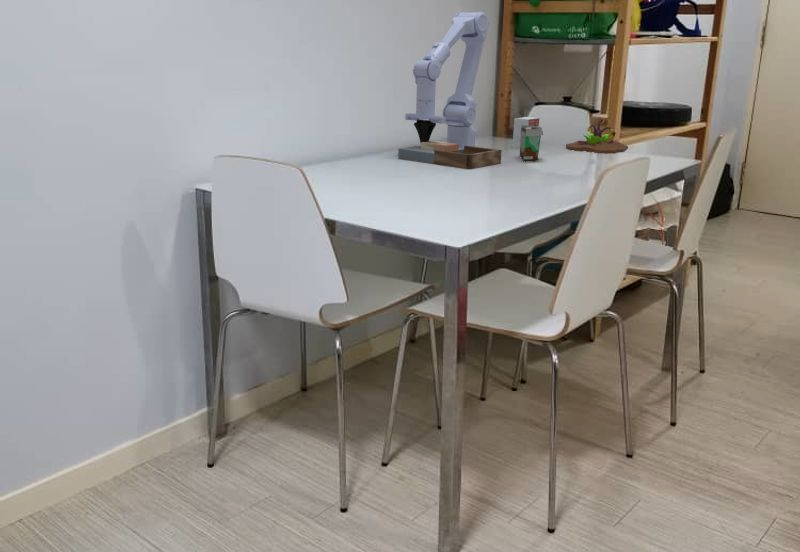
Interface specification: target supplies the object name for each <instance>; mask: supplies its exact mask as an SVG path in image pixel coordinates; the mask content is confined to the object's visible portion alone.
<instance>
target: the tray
mask: <svg viewBox="0 0 800 552" xmlns="http://www.w3.org/2000/svg"><path fill="white" fill-rule="evenodd" d="M501 163H502V149H496V148H489V147H481V146H480V147H479V146H475V147H473V146H464V154H463V153H456V152H449V151H441V150H434V164H435V165H440V166H447V167H453V168H460V169H464V170H465V169H467V170H473V169H479V168H482V167H488V166H493V165H500V164H501ZM434 164H433V165H434Z"/></svg>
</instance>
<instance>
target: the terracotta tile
mask: <svg viewBox="0 0 800 552" xmlns="http://www.w3.org/2000/svg"><path fill="white" fill-rule="evenodd" d="M443 142H444V143H437V144H434V149H433V151H434V150H441V151H449V152H453V151H459V144H455V143H447V141H446V142H445V141H443Z"/></svg>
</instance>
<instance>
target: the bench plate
mask: <svg viewBox="0 0 800 552" xmlns="http://www.w3.org/2000/svg"><path fill="white" fill-rule="evenodd" d="M397 150H398V152H397V156H398V158H397V159H399V160H404V161H405V160H406V161H412V162H420V163H427V164H432V165H434V151H433V150H425V149H421V145H417V146H408V147H401V148H400V147H399V148H398V149H397ZM453 152H456V153H463V154H464V149H463V148H459V151H453Z"/></svg>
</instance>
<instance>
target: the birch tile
mask: <svg viewBox="0 0 800 552" xmlns="http://www.w3.org/2000/svg"><path fill="white" fill-rule="evenodd" d="M444 142H445V141H438V140H429V141H427V142H421V143H420V146H421V149H425V150H433V149H434V144H437V143H444Z"/></svg>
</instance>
